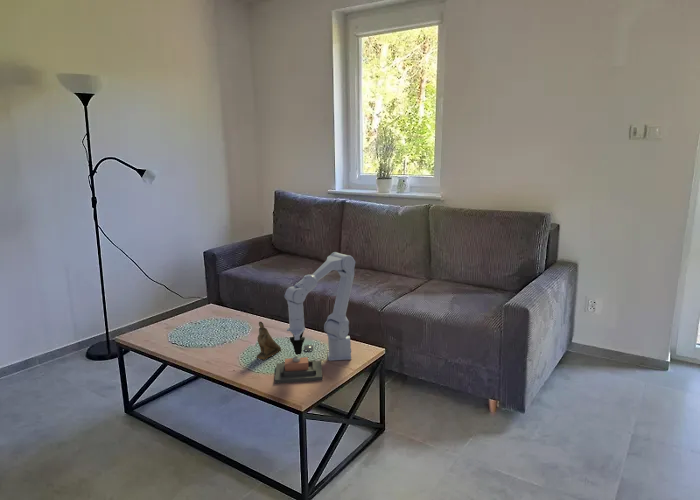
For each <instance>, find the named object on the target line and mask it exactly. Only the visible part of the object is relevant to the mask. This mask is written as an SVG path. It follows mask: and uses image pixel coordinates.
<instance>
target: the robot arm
mask: <svg viewBox="0 0 700 500" xmlns="http://www.w3.org/2000/svg"><path fill="white" fill-rule="evenodd" d="M355 266H356V260H355V259H354V257H353V256H352V255H350V254H343V253H340V252H337V251H334V252H331V254H330V255H328V256H327V258H326V260H325V261H324V262H323V263H322V264H321V265H320V266H319V267H318V268H317V269H316V270H315V271H314V272H313V273H312V274H309V273H308V274H305V275H304V276H303V278H302V279H300V280H299V281H298V282H296V283H295V284H294V285H293V286H289V287H288V288H287V289H286V290H285V294H283V297H284V299H285V300H286V302H287V306H288V307H287V309H288V323H289V327H287V328H286V331H287V332H290V333H291V334H292V336H290V337H289V341H290V343H291V344H292V346H293V351H294V354H295V355H302V352H303V344H304V341H305V339H306V337H305V336H303V335H304V332H305V330H306V326H305V315H304V312H305V311H304V302H305V300H306V298H307V296H308V294H309V293H310V292H312V291H313V290H314V289H315V288H316V287H317V286H318V283H319V281H320V280H322V279H323V278H324V277H325V276H327V275H328V274H329V273H331V272H332V271H336V272H337V273H338V274H339V277H340V278H339V282H338V285H337V286H338V287H337V291H336V295H335V296H336V297H335V300H334V301H335V302H334V305H333V310H332V312H331V313H330V314H329V315H327V318H326V321H325V322H324V324H323V331H324V332H325V333H326V336H327V337H328V338H327V341H328V343H327V344H328V346H327V347H328V351H327V359H328V361H347V360H352V347H351V345H352V343H351V337H350V335H348V334H349V332H350V327H349V325H350V321H349V319H348V317H347V311H348V306H349V301H350V297H351V291H352V288H353V284H354V283H353V282H354V279H355V278H354V277H355Z"/></svg>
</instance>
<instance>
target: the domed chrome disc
mask: <svg viewBox="0 0 700 500" xmlns="http://www.w3.org/2000/svg"><path fill="white" fill-rule="evenodd" d="M303 349H304V351H305V350H307V351H306V352H311V351H310V350H312V351H314V345H313V344H306V345H304V346H303Z"/></svg>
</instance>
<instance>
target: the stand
mask: <svg viewBox="0 0 700 500" xmlns="http://www.w3.org/2000/svg"><path fill="white" fill-rule="evenodd" d="M308 366H309V370H299V371H285V361H281V363H276V367H275V373H274V374H275V376H274V384H289V383H304V382H317V381H323V369H322V360H316V359H311V360H309V359H308Z"/></svg>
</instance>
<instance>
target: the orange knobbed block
mask: <svg viewBox="0 0 700 500" xmlns="http://www.w3.org/2000/svg"><path fill="white" fill-rule="evenodd" d="M308 361H309V357H307V356H306V357H305V356H304V357H300V356H293V357H292V358H285V359H284V362H285V371H299V370H309V366H308Z"/></svg>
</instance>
